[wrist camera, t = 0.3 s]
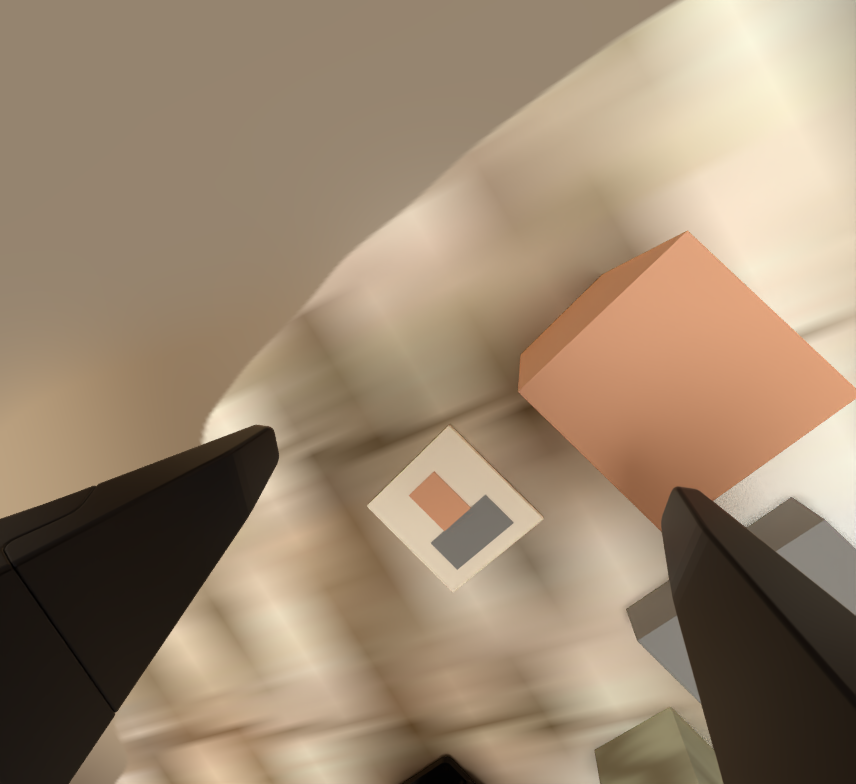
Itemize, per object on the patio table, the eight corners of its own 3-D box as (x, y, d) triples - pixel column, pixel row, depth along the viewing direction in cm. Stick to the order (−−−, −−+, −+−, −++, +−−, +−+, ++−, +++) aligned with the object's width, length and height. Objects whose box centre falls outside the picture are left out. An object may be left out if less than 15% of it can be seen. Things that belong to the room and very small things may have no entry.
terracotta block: (596, 427, 24) (665, 535, 12) (520, 354, 24) (517, 391, 12) (684, 352, 22) (862, 394, 10) (602, 274, 22) (687, 230, 11)
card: (453, 589, 27) (452, 593, 27) (368, 504, 28) (365, 506, 27) (543, 516, 25) (543, 520, 25) (449, 424, 26) (448, 426, 25)
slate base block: (756, 734, 25) (786, 788, 22) (624, 604, 26) (637, 640, 23) (939, 639, 22) (1001, 688, 19) (786, 493, 23) (824, 519, 20)
